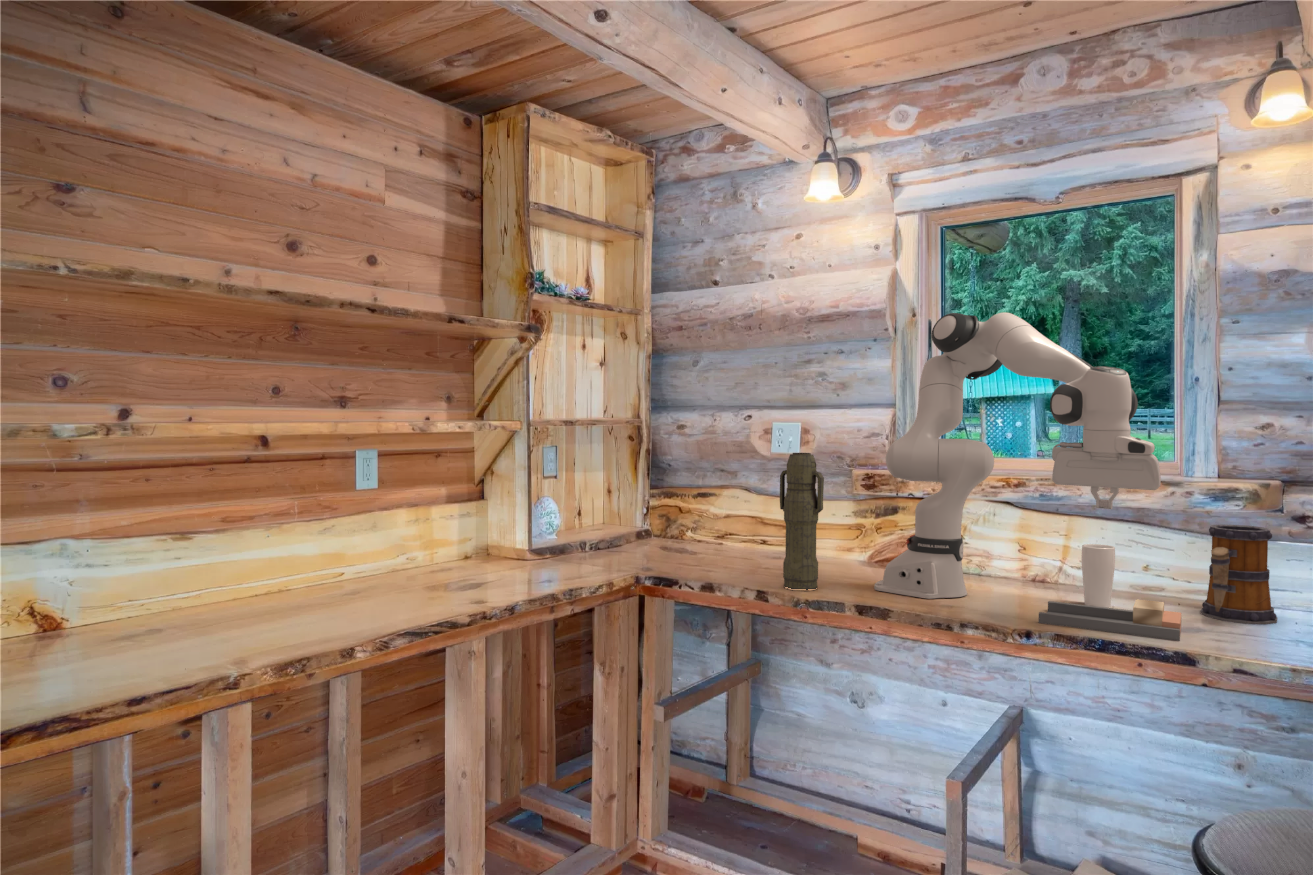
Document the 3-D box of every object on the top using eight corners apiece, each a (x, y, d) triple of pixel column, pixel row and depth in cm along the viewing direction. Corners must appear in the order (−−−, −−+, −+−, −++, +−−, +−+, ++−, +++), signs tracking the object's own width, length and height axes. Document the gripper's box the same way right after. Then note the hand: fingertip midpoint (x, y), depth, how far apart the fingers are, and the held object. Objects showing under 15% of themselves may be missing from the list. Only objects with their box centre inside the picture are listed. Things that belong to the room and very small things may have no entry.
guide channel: (1038, 629, 174) (1038, 608, 174) (1048, 616, 186) (1049, 596, 186) (1179, 648, 160) (1180, 625, 160) (1181, 632, 172) (1181, 611, 172)
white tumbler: (1094, 615, 187) (1095, 548, 187) (1074, 608, 194) (1075, 544, 193) (1121, 613, 188) (1122, 548, 188) (1099, 607, 195) (1100, 543, 195)
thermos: (817, 593, 209) (818, 454, 208) (773, 588, 215) (774, 453, 214) (828, 587, 217) (829, 453, 216) (785, 582, 223) (786, 451, 222)
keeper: (1132, 632, 166) (1133, 607, 166) (1135, 622, 174) (1136, 599, 174) (1161, 635, 164) (1162, 610, 164) (1163, 626, 171) (1164, 602, 171)
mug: (1254, 631, 174) (1256, 535, 173) (1178, 617, 185) (1180, 528, 185) (1288, 618, 185) (1290, 528, 185) (1215, 606, 197) (1216, 521, 196)
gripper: (1049, 442, 179) (1048, 506, 180) (1160, 446, 168) (1158, 514, 169) (1055, 440, 185) (1053, 502, 186) (1162, 444, 173) (1160, 510, 174)
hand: (1104, 508), depth 177 cm, fingers closed
